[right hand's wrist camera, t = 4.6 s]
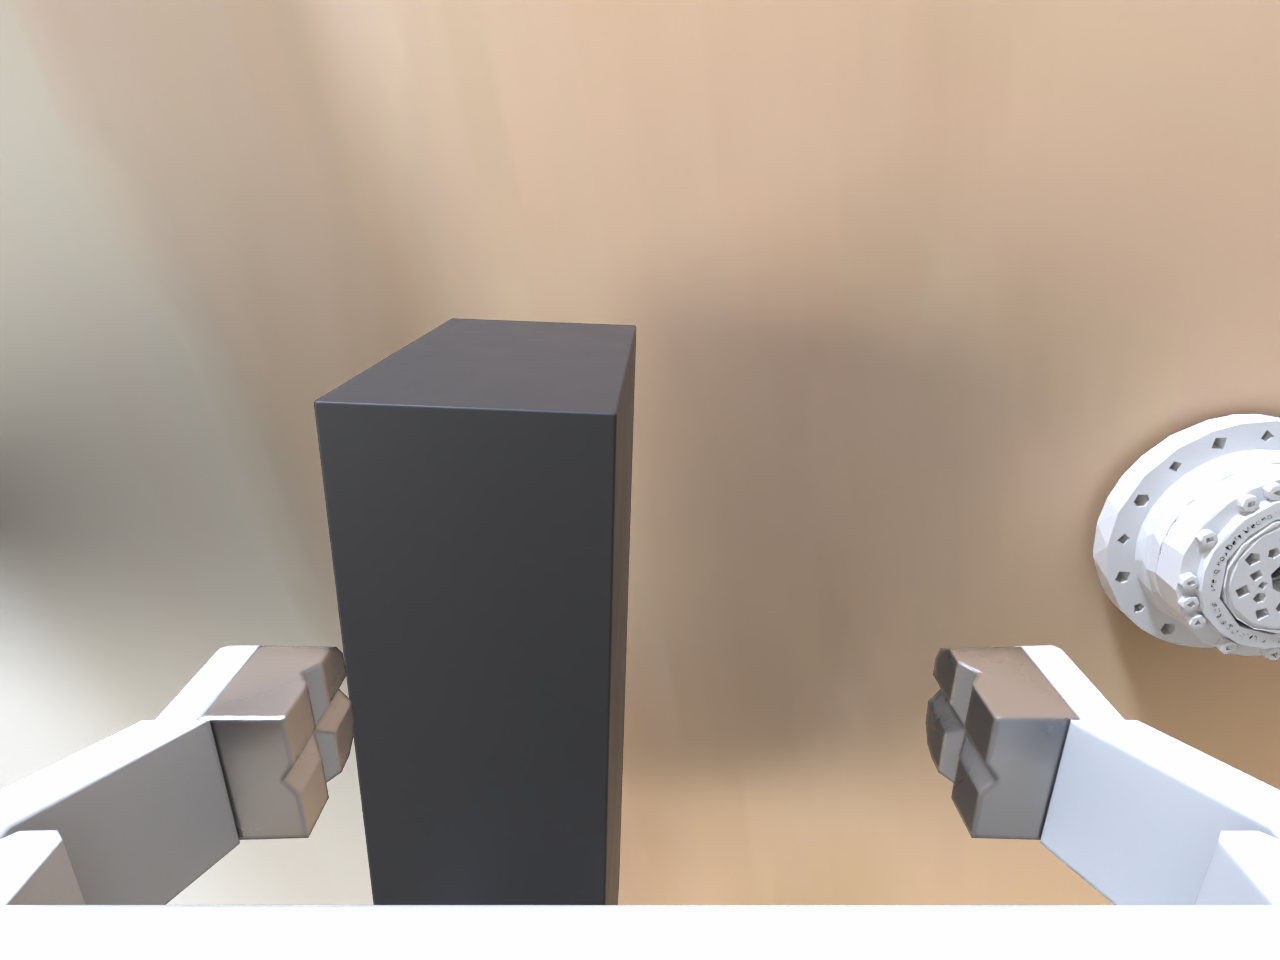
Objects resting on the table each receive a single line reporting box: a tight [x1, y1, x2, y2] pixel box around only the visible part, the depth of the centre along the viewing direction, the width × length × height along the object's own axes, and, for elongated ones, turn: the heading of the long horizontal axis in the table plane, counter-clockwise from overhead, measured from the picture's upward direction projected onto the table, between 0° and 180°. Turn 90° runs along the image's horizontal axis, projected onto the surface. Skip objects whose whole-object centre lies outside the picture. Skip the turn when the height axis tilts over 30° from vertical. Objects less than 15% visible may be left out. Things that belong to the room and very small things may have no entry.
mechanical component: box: [1093, 414, 1280, 661], centre depth 30 cm, size 10×4×10 cm
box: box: [314, 319, 636, 905], centre depth 24 cm, size 24×6×10 cm, turn 178°
